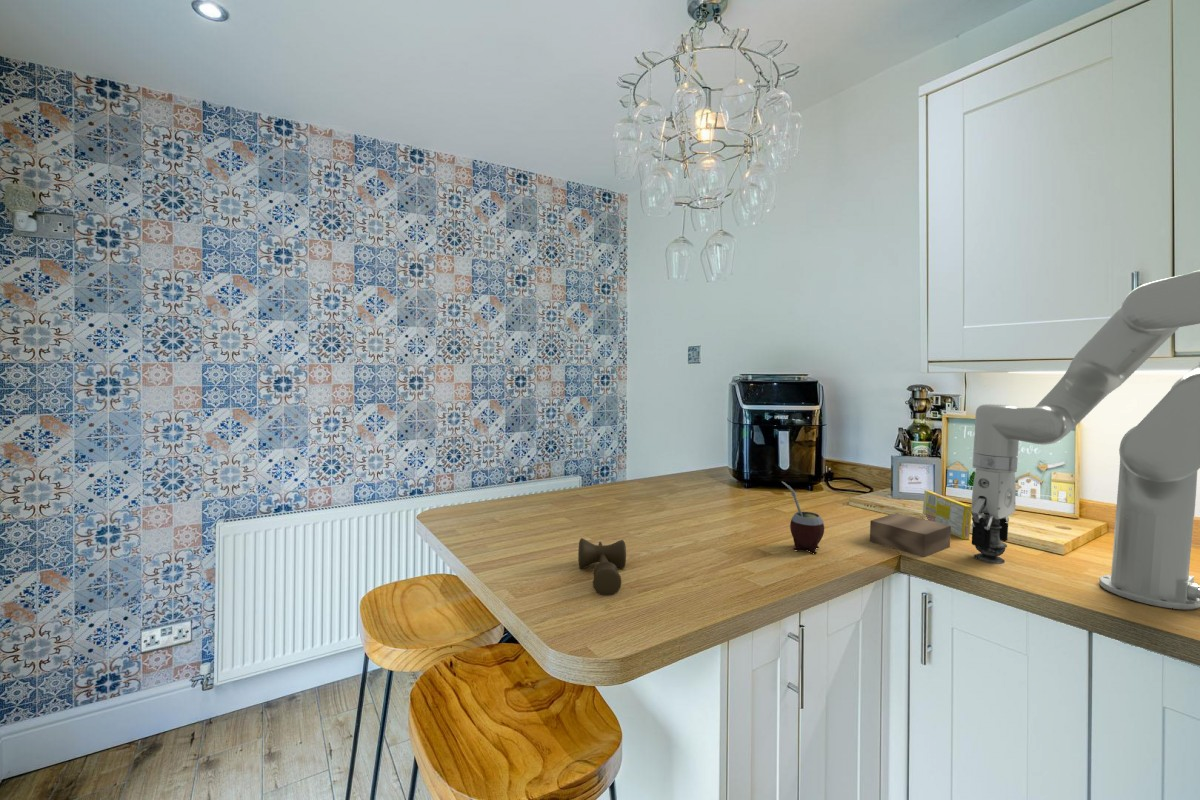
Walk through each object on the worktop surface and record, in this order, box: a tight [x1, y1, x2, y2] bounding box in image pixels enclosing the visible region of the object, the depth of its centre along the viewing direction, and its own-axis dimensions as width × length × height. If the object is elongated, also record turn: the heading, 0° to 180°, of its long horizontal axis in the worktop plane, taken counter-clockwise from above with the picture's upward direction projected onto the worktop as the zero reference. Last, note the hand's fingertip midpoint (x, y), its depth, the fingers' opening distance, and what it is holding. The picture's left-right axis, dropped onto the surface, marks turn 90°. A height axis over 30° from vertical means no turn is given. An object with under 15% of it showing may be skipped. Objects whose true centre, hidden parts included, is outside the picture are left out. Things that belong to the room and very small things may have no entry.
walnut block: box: [869, 512, 952, 558], centre depth 119 cm, size 12×12×5 cm
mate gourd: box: [781, 481, 825, 555], centre depth 115 cm, size 8×8×15 cm
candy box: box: [922, 490, 972, 540], centre depth 131 cm, size 16×2×8 cm, turn 179°
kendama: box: [577, 538, 627, 596], centre depth 101 cm, size 6×10×20 cm
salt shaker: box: [973, 512, 1008, 565], centre depth 110 cm, size 6×6×12 cm
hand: (989, 542), depth 110 cm, fingers open, 8 cm apart
